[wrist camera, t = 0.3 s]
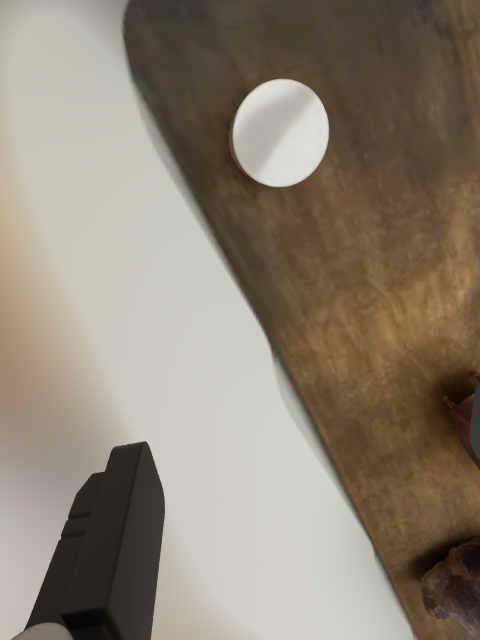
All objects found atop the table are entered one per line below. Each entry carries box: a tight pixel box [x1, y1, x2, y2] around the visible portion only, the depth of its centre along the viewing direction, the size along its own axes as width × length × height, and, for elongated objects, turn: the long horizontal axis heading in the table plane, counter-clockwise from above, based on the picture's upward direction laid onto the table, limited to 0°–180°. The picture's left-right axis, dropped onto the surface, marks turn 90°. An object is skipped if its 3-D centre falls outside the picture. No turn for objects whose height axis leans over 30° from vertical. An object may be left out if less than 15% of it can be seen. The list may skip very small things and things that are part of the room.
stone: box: [228, 79, 329, 187], centre depth 20 cm, size 5×5×3 cm
